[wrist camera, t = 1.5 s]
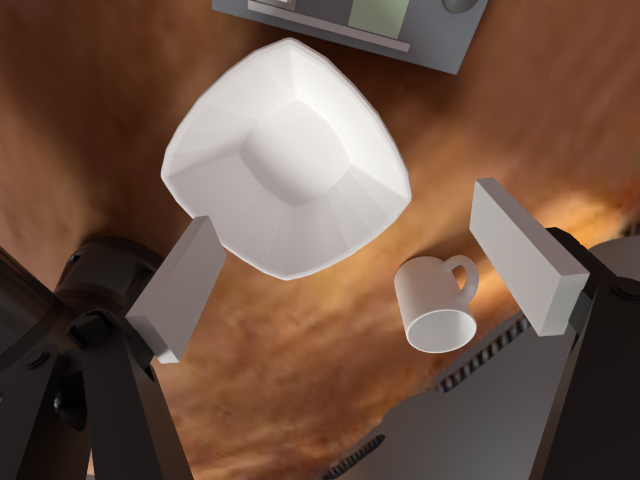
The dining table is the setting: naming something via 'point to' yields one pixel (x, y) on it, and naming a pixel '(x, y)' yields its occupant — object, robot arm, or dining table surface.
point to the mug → (436, 302)
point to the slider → (287, 0)
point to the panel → (376, 25)
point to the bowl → (287, 162)
